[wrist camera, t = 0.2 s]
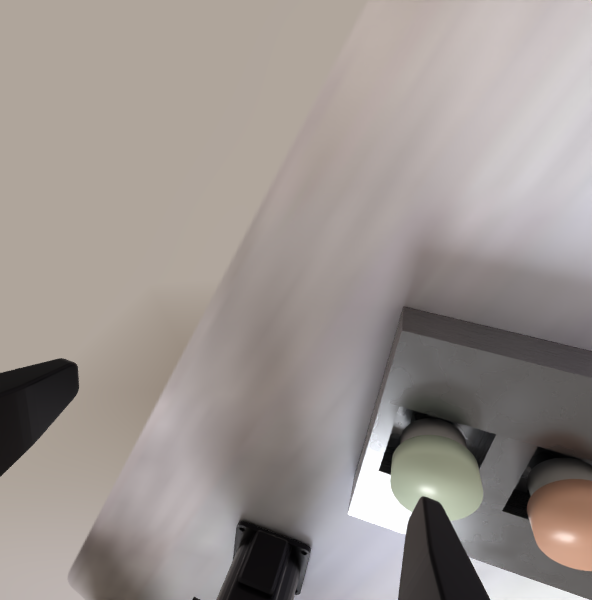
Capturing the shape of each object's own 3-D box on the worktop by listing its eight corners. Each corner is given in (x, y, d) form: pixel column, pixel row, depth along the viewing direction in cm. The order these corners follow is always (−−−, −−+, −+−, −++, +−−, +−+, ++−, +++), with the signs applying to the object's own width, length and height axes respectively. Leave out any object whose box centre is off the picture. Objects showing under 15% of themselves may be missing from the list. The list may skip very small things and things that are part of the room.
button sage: (459, 482, 23) (466, 532, 20) (385, 458, 24) (381, 503, 21) (485, 426, 21) (497, 472, 18) (404, 402, 22) (402, 443, 19)
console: (687, 588, 24) (722, 646, 21) (354, 478, 28) (347, 514, 25) (861, 415, 18) (939, 465, 15) (403, 306, 22) (401, 330, 19)
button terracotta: (590, 523, 21) (617, 583, 18) (506, 497, 22) (519, 550, 19) (630, 468, 19) (667, 525, 17) (537, 441, 20) (557, 491, 17)
